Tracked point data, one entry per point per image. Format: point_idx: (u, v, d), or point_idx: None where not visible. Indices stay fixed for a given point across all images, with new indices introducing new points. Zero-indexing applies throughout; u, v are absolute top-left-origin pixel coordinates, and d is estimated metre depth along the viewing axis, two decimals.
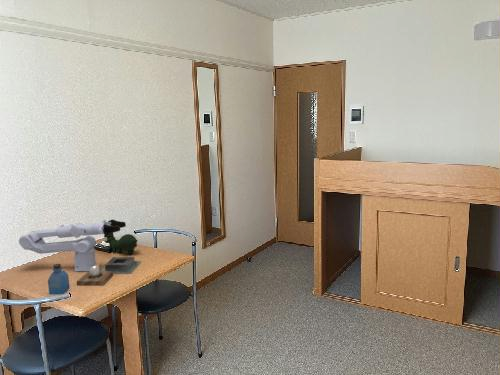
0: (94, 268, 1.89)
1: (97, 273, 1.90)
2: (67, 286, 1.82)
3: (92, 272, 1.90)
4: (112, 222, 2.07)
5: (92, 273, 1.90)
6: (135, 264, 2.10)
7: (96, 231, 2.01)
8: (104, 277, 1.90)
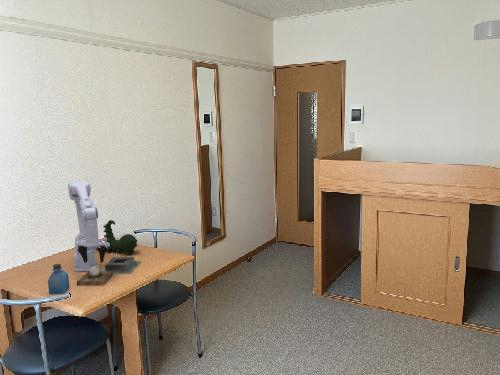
0: (94, 268, 1.89)
1: (97, 273, 1.90)
2: (67, 286, 1.82)
3: (92, 272, 1.90)
4: None
5: (92, 273, 1.90)
6: (135, 264, 2.10)
7: None
8: (104, 277, 1.90)
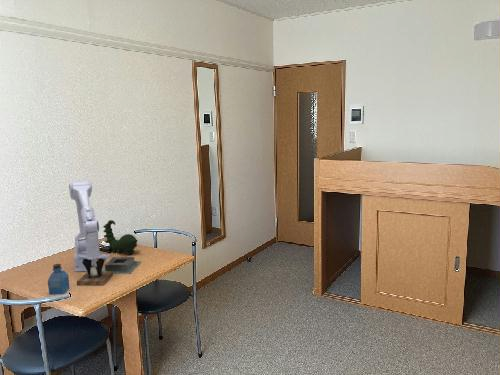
0: (94, 268, 1.89)
1: (97, 273, 1.90)
2: (67, 286, 1.82)
3: (92, 272, 1.90)
4: None
5: (92, 273, 1.90)
6: (135, 264, 2.10)
7: None
8: (104, 277, 1.90)
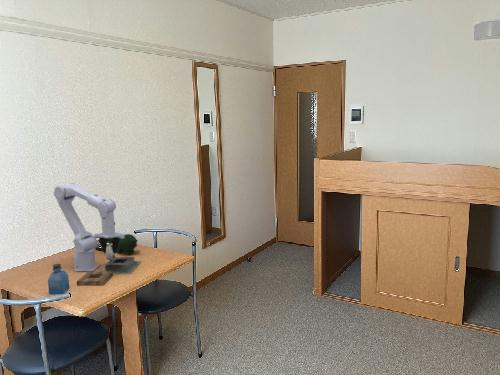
0: (109, 246, 1.98)
1: (112, 252, 1.99)
2: (67, 286, 1.82)
3: (107, 250, 1.98)
4: None
5: (107, 251, 1.98)
6: (135, 264, 2.10)
7: None
8: (104, 277, 1.90)
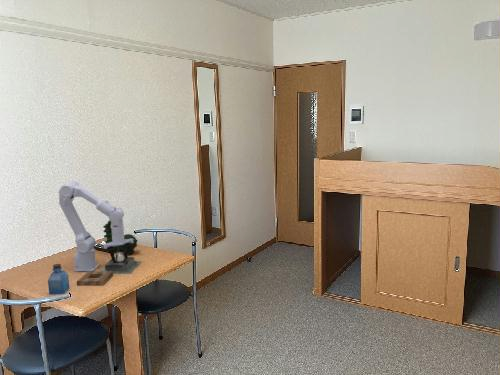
0: (122, 254, 2.05)
1: (123, 259, 2.07)
2: (67, 286, 1.82)
3: (120, 259, 2.05)
4: (126, 246, 2.06)
5: (120, 260, 2.05)
6: (135, 264, 2.10)
7: (112, 236, 2.04)
8: (104, 277, 1.90)
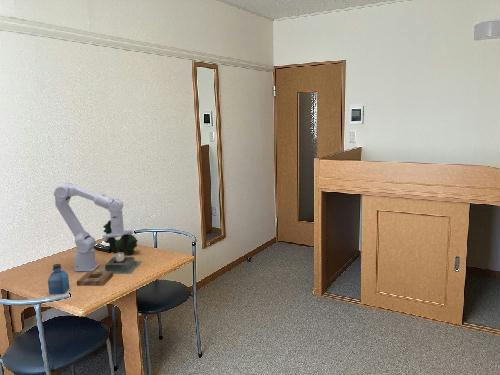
0: (122, 254, 2.05)
1: (123, 259, 2.07)
2: (67, 286, 1.82)
3: (120, 259, 2.05)
4: (124, 238, 2.05)
5: (120, 260, 2.05)
6: (135, 264, 2.10)
7: (111, 227, 2.03)
8: (104, 277, 1.90)
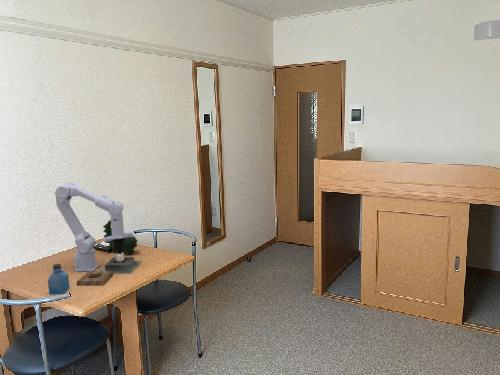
0: (122, 254, 2.05)
1: (123, 259, 2.07)
2: (67, 286, 1.82)
3: (120, 259, 2.05)
4: None
5: (120, 260, 2.05)
6: (135, 264, 2.10)
7: None
8: (104, 277, 1.90)
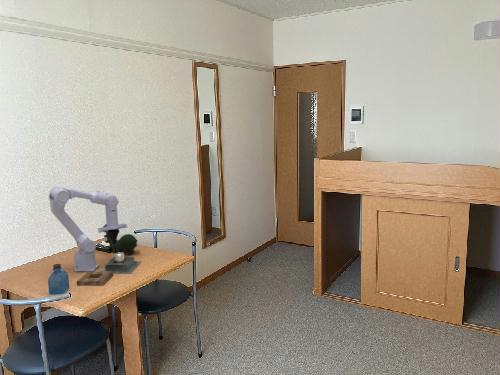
0: (122, 254, 2.05)
1: (123, 259, 2.07)
2: (67, 286, 1.82)
3: (120, 259, 2.05)
4: (114, 232, 2.13)
5: (120, 260, 2.05)
6: (135, 264, 2.10)
7: (106, 221, 2.12)
8: (104, 277, 1.90)
